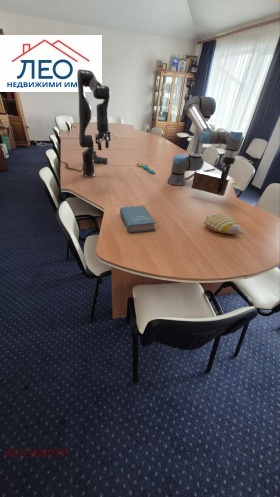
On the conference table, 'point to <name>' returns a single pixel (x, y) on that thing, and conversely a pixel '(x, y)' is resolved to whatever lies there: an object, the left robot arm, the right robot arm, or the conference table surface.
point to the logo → (145, 167)
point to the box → (208, 182)
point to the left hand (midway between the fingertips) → (103, 149)
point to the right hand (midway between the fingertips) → (220, 190)
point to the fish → (223, 224)
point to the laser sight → (99, 159)
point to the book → (137, 219)
